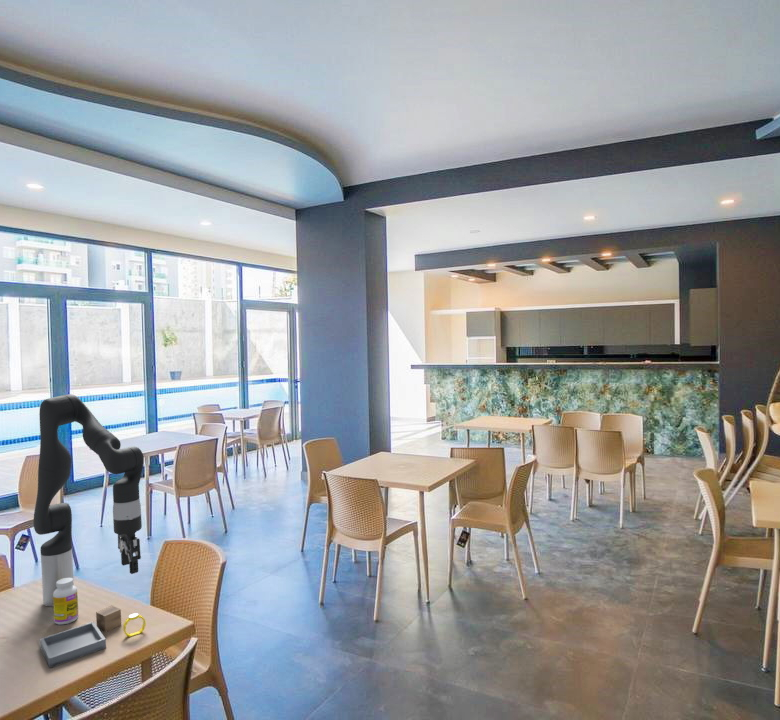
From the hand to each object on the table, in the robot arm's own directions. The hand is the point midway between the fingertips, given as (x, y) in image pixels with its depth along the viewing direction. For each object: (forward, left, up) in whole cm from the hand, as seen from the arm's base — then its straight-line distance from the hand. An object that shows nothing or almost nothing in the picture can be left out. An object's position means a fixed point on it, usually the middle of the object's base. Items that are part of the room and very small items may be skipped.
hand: (129, 568), depth 163 cm
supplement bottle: (-25, -13, -20) cm, 35 cm away
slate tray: (-5, -15, -20) cm, 26 cm away
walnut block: (-11, -4, -20) cm, 23 cm away
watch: (0, 0, -20) cm, 20 cm away
